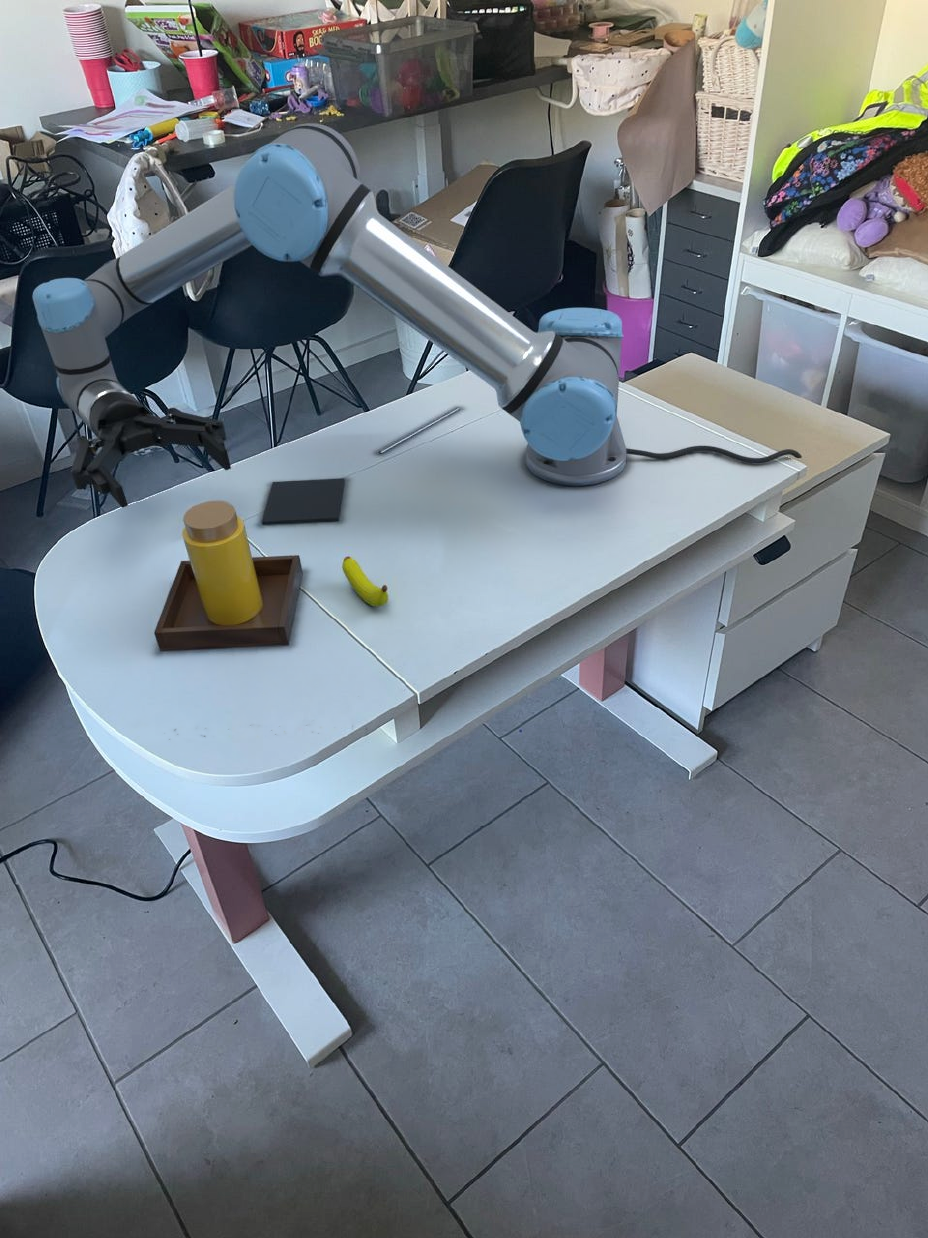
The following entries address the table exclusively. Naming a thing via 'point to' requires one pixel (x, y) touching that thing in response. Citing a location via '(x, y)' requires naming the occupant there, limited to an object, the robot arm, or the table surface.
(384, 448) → the rod
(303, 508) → the mat
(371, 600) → the fruit
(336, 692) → the table surface
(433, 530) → the table surface
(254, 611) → the jar
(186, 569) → the box
